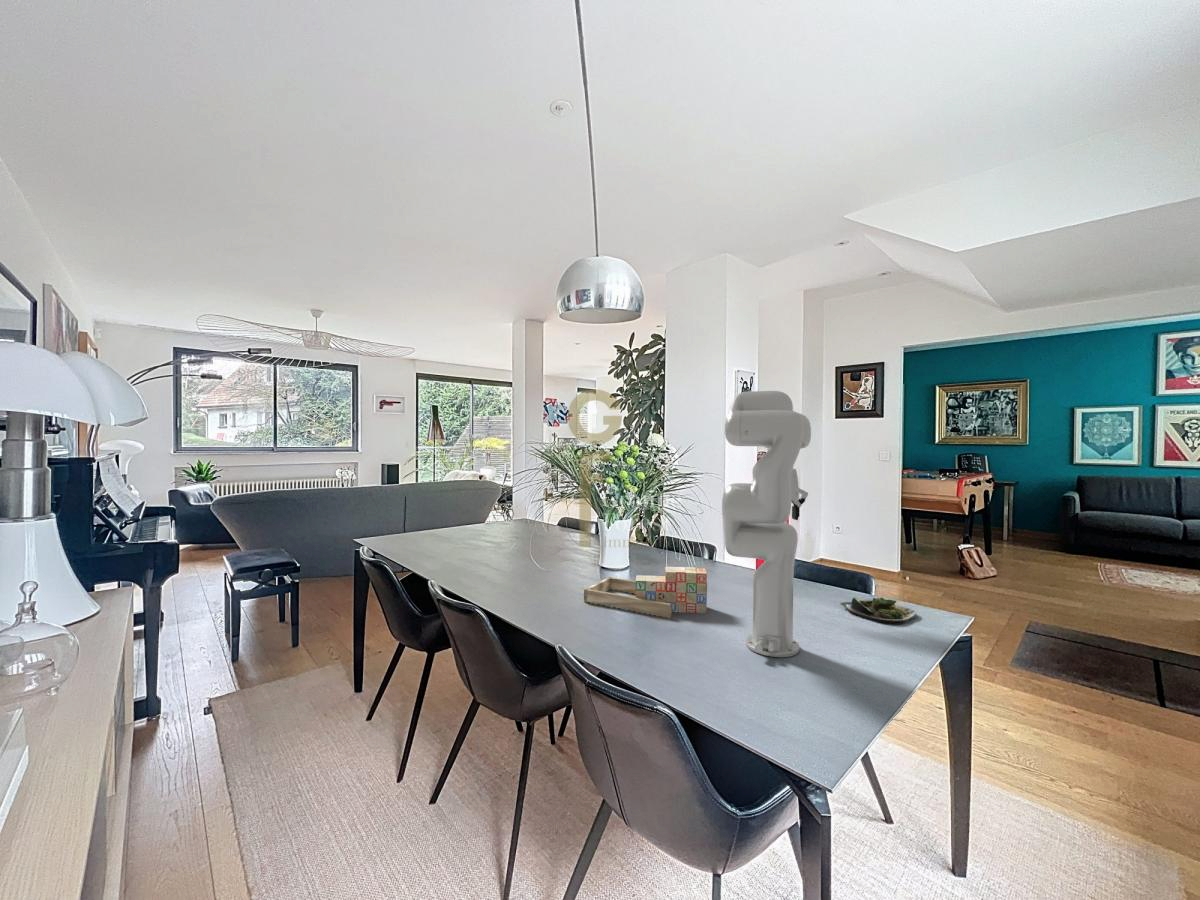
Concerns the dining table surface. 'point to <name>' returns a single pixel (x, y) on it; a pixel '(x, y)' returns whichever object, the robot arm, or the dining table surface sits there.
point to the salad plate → (879, 610)
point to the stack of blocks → (676, 588)
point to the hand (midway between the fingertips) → (779, 519)
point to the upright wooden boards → (624, 597)
